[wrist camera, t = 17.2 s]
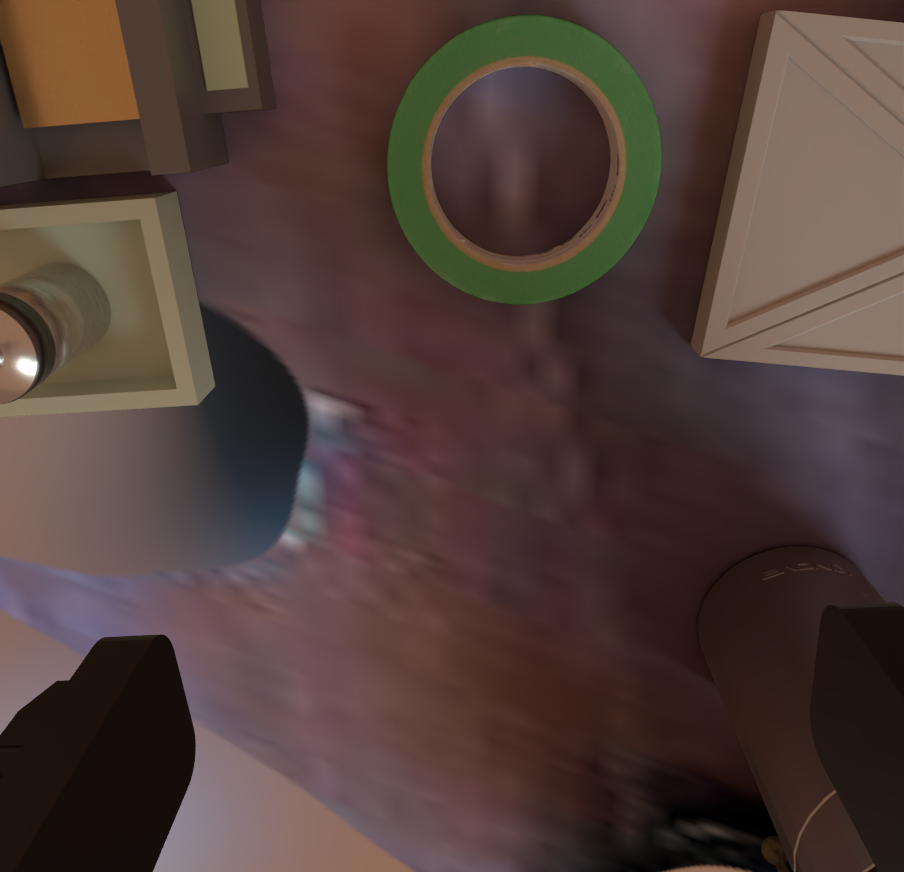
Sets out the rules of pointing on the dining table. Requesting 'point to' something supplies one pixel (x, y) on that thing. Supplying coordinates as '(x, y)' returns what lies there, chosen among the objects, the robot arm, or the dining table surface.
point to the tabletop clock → (774, 853)
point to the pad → (67, 62)
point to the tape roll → (630, 158)
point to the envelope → (813, 202)
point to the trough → (116, 301)
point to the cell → (47, 324)
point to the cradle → (155, 95)
